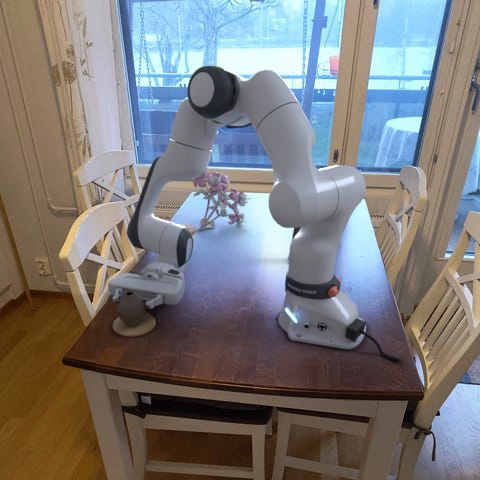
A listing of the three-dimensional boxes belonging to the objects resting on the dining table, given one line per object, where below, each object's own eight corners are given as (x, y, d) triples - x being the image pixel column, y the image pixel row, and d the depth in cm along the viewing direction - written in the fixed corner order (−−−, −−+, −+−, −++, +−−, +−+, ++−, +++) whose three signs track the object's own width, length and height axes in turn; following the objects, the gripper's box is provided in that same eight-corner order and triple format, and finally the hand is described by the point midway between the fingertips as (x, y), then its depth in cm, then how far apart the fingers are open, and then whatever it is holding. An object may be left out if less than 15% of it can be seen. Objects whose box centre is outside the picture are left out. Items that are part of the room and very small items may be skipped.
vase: (141, 331, 107) (136, 301, 102) (115, 328, 108) (110, 298, 104) (151, 317, 113) (147, 288, 108) (127, 314, 114) (122, 285, 109)
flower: (228, 240, 154) (247, 171, 149) (175, 224, 161) (191, 158, 156) (246, 244, 173) (263, 183, 168) (198, 230, 179) (214, 170, 175)
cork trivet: (164, 319, 113) (164, 318, 112) (138, 341, 104) (137, 339, 104) (131, 309, 117) (131, 308, 117) (103, 329, 109) (103, 328, 108)
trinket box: (163, 246, 153) (161, 221, 148) (192, 242, 156) (190, 217, 151) (170, 258, 145) (167, 232, 140) (200, 253, 148) (199, 228, 143)
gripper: (121, 264, 119) (93, 286, 108) (188, 273, 114) (166, 298, 103) (124, 283, 123) (98, 307, 112) (190, 294, 118) (169, 320, 107)
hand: (131, 303), depth 107 cm, fingers open, 8 cm apart
